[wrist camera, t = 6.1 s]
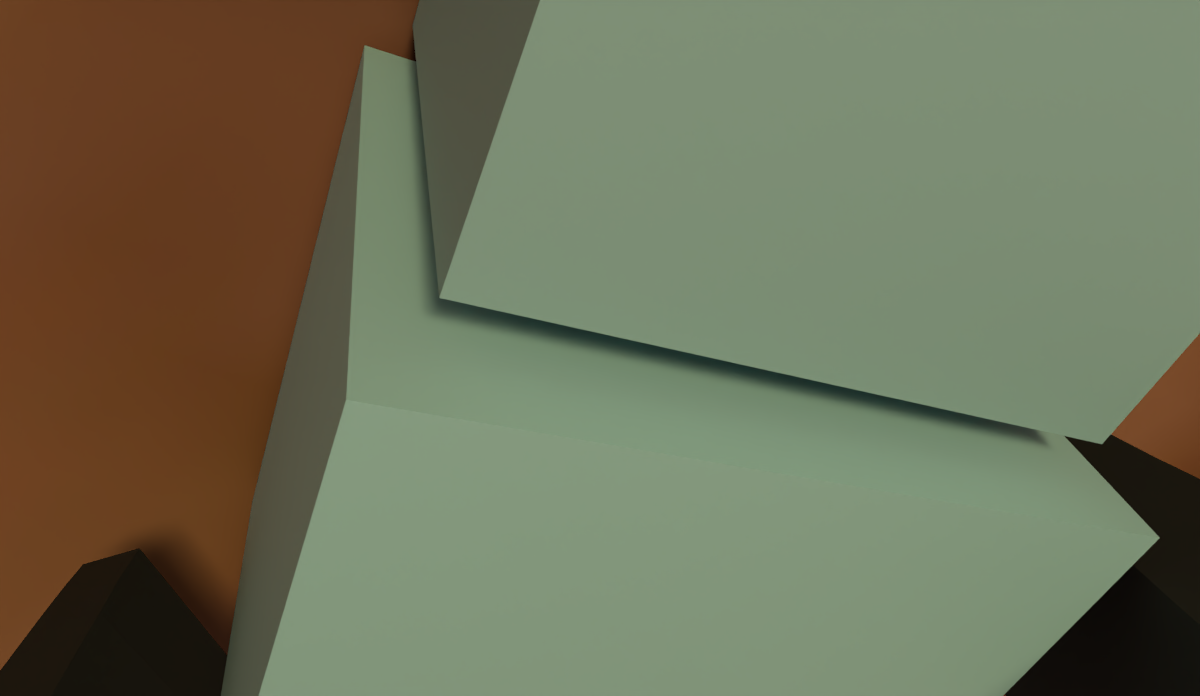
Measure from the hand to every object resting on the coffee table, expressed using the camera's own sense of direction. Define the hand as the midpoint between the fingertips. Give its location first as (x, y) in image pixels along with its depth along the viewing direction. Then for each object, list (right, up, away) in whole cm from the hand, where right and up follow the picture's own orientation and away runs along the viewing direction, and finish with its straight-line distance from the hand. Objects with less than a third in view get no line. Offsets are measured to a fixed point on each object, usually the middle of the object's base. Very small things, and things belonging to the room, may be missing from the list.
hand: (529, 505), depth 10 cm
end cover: (+1, +4, -1) cm, 4 cm away
